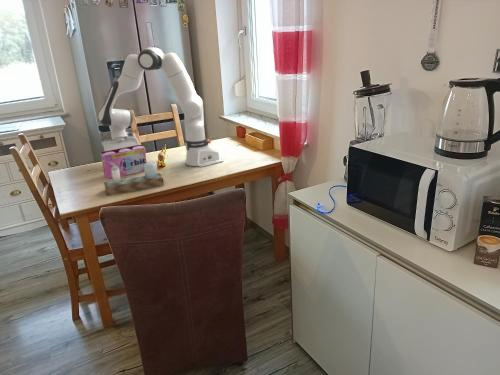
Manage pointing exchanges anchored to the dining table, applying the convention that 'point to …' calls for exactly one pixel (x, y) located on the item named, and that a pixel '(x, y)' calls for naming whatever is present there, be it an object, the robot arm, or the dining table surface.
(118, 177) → the shaker
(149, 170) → the white short cylinder
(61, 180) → the dining table surface
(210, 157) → the robot arm
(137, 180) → the podium
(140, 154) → the gum box
